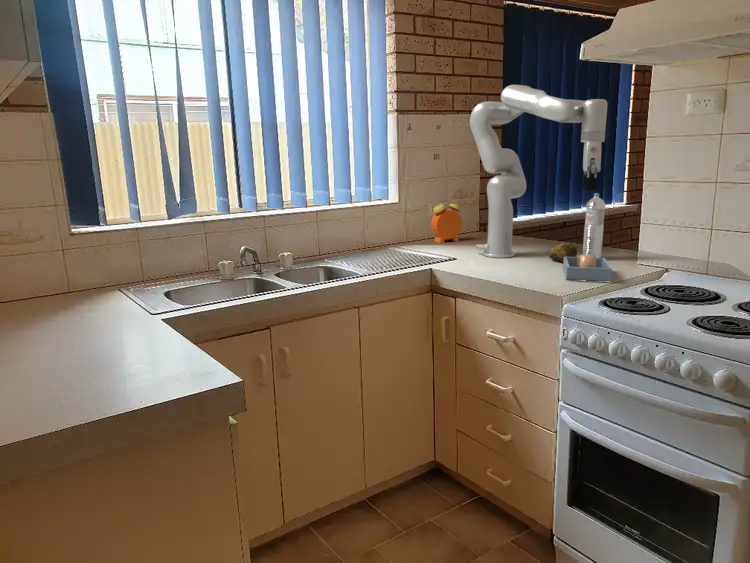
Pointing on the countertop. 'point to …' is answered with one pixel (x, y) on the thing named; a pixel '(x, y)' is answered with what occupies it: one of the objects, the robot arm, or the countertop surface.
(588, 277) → the tote
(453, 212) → the alarm clock
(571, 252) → the potato
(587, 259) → the cylinder
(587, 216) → the water bottle
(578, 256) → the cube
